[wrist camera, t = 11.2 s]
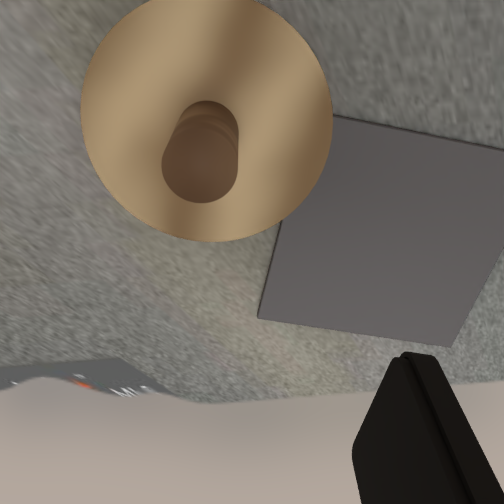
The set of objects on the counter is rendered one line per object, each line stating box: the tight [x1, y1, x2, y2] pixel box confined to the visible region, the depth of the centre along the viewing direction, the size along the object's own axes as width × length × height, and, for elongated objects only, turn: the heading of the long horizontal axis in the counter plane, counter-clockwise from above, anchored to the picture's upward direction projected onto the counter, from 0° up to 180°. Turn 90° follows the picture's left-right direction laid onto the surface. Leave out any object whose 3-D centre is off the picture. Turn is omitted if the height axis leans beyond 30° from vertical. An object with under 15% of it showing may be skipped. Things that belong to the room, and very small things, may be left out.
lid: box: [80, 0, 333, 242], centre depth 23 cm, size 13×13×6 cm
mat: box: [257, 115, 504, 348], centre depth 34 cm, size 16×16×1 cm
